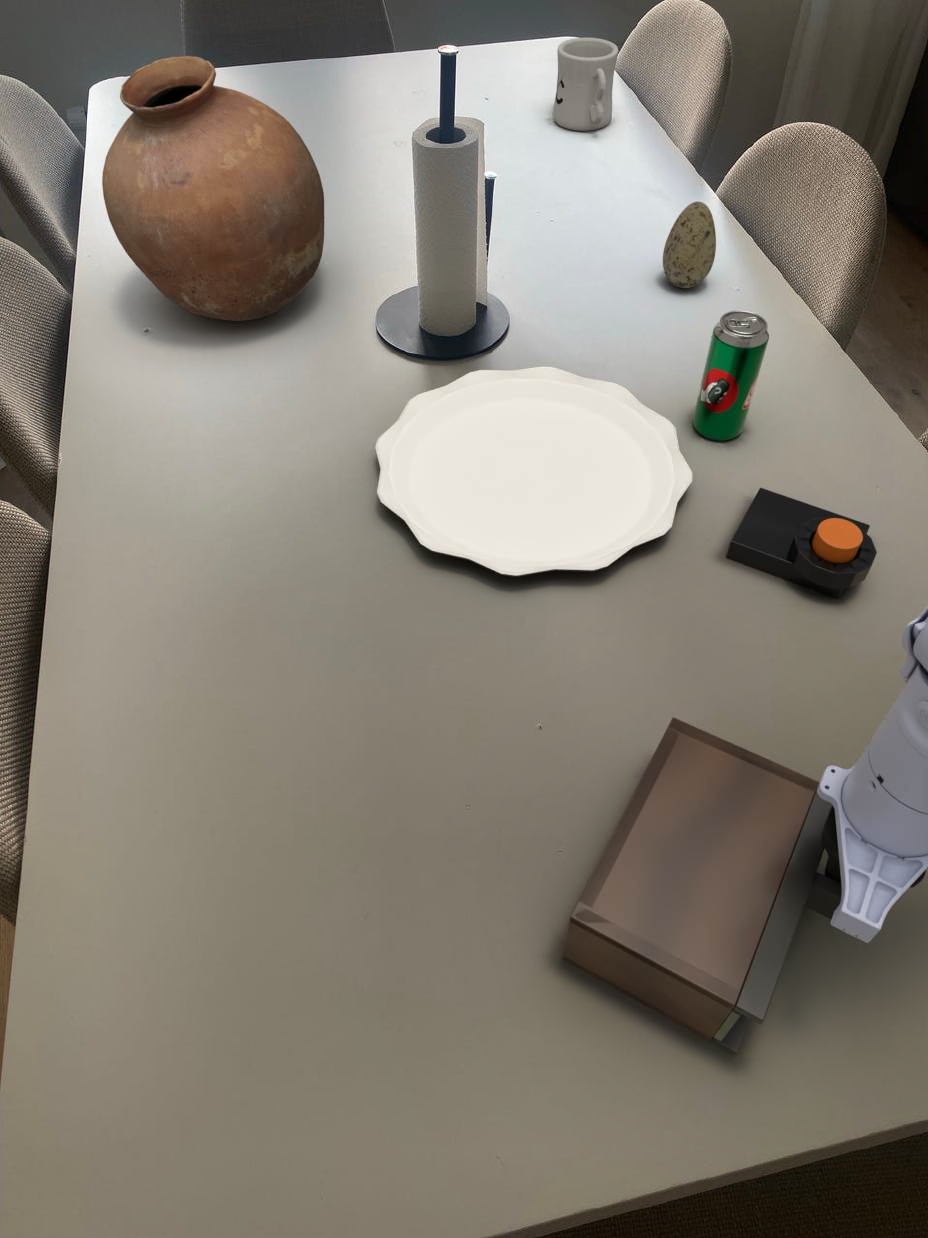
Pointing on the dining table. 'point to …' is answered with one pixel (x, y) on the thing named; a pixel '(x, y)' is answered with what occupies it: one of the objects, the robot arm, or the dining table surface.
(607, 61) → the mug
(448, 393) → the plate
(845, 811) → the robot arm
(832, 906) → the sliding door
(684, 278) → the decorative egg
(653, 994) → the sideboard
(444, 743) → the dining table surface
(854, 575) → the control box
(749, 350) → the soda can
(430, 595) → the dining table surface
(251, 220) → the pottery
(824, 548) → the button
